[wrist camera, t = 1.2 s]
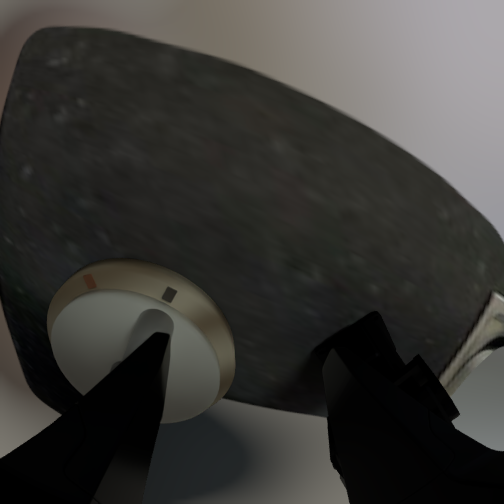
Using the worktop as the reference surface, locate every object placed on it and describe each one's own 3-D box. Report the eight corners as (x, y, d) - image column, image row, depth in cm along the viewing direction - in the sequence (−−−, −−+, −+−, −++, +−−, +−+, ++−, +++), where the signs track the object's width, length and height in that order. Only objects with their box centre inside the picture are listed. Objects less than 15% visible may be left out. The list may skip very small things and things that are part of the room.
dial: (255, 378, 21) (267, 466, 14) (143, 426, 23) (132, 491, 16) (126, 249, 16) (67, 330, 9) (34, 337, 18) (-7, 401, 11)
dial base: (272, 361, 24) (275, 378, 22) (147, 417, 26) (144, 432, 24) (137, 212, 18) (127, 222, 16) (32, 319, 20) (21, 332, 18)
